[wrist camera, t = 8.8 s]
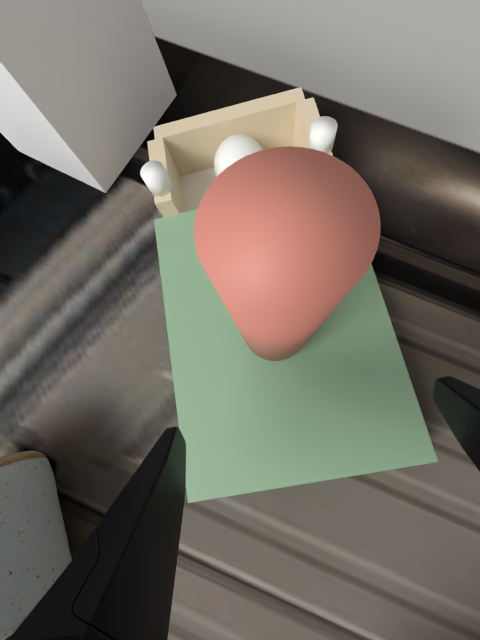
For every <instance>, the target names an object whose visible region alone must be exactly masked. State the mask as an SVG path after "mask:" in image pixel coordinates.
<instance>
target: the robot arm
mask: <svg viewBox="0 0 480 640" xmlns="http://www.w3.org/2000/svg"><path fill="white" fill-rule="evenodd" d="M433 400H434V402H435V404H436V406H437V407H438V409H439V411H440V412H441V414H442V416H443V417H444V419H445V421H446V422H447V424H448V426H449V427H450V429H451V431H452V432H453V434H454V436H455V437H456V439H457V441H458V442H459V444H460V445H461V447H462V448H463V449H464V451H465V452H466V454H467V455H468V456H469V458H470V459H471V460H472V462H473V463H474V464H475V466H476V467H477V468H478V470H479V471H480V389H477V388H475V387H473V386H471V385H469V384H466V383H464V382H462V381H460V380H458V379H455V378H453V377H450V376H447V377H441V378H437V379H436V380H435V385H434V391H433ZM185 486H186V442H185V439H184V437H183V435H182V433H181V431H180V429H179V428H178V427H171V428H167V429H166V430H165V431H164V432H163V434H162V435H161V437H160V438H159V439H158V441H157V442H156V444H155V445H154V447H153V448H152V449H151V451H150V452H149V454H148V455H147V456H146V458H145V459H144V461H143V462H142V463H141V465H140V466H139V468H138V469H137V470H136V472H135V473H134V475H133V476H132V477H131V479H130V480H129V482H128V483H127V484H126V486H125V487H124V489H123V490H122V491H121V493H120V494H119V496H118V497H117V498H116V500H115V501H114V503H113V504H112V506H111V507H110V508H109V510H108V511H107V513H106V514H105V515H104V517H103V518H102V520H101V521H100V522H99V524H98V525H97V528H95V529H94V531H93V532H92V533H91V535H90V536H89V538H88V539H87V541H86V542H85V543H84V545H83V546H82V547H81V549H80V550H79V551H78V553H77V554H76V555H75V557H74V558H73V560H72V561H71V562H70V563H69V565H68V566H67V567H66V568H65V570H64V571H63V572H62V574H61V575H60V576H59V577H58V579H57V580H56V581H55V582H54V584H53V585H52V586H51V587H50V589H49V590H48V591H47V592H46V594H45V595H44V596H43V597H42V598H41V600H40V601H39V602H38V603H37V605H36V606H35V607H34V608H33V610H32V611H31V612H30V613H29V614H28V616H27V617H26V618H25V619H24V621H23V622H22V623H21V624H20V626H19V627H18V628H17V629H16V630H15V632H14V633H13V634H12V635H11V636H10V638H9V639H8V640H167V638H168V629H169V621H170V613H171V605H172V597H173V589H174V581H175V572H176V564H177V556H178V548H179V540H180V532H181V524H182V515H183V507H184V499H185Z"/></svg>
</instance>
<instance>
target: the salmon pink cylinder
mask: <svg viewBox="0 0 480 640" xmlns="http://www.w3.org/2000/svg"><path fill="white" fill-rule="evenodd" d="M380 229H381V225H380V214H379V210H378V206H377V203H376V201H375V198H374V196H373V193H372V192H371V190H370V188H369V187H368V185H367V184H366V182H365V181H364V180H363V179H362V177H361V176H360V175H359V174H358V173H357V172H356V171H355V170H354V169H353V168H351V167H350V166H349V165H347V164H346V163H345V162H343V161H341V160H339V159H338V158H336V157H334V156H332V155H329V154H327V153H325V152H322V151H318V150H315V149H310V148H304V147H292V146H288V147H276V148H269V149H265V150H261V151H258V152H255V153H252V154H250V155H247V156H245V157H243V158H241V159H239V160H237V161H236V162H234V163H233V164H231V165H230V166H228V167H227V168H226V169H225V170H224V171H222V172H221V173H220V174H219V175H218V176H217V177H216V178H215V179H214V181H213V182H212V183H211V184H210V186H209V187H208V188H207V190H206V191H205V193H204V195H203V197H202V199H201V201H200V204H199V206H198V209H197V213H196V217H195V224H194V241H195V246H196V251H197V254H198V257H199V259H200V262H201V264H202V266H203V268H204V269H205V271H206V273H207V275H208V277H209V278H210V280H211V282H212V284H213V285H214V287H215V289H216V291H217V292H218V294H219V296H220V298H221V299H222V301H223V303H224V305H225V306H226V308H227V310H228V312H229V314H230V315H231V317H232V319H233V321H234V322H235V324H236V326H237V328H238V329H239V331H240V333H241V335H242V336H243V338H244V340H245V342H246V343H247V345H248V347H249V348H250V349H251V351H252V352H253V353H255V354H256V355H257V356H259V357H261V358H263V359H266V360H270V361H281V360H285V359H288V358H290V357H292V356H293V355H295V354H296V353H297V352H298V351H299V350H300V349H301V348H302V346H303V345H304V344H305V343H306V342H307V341H308V339H309V338H310V337H311V336H312V335H313V334H314V332H315V331H316V330H317V329H318V328H319V327H320V326H321V324H322V323H323V322H324V321H325V320H326V319H327V317H328V316H329V315H330V314H331V313H332V312H333V310H334V309H335V308H336V307H337V306H338V305H339V303H340V302H341V301H342V300H343V299H344V298H345V296H346V295H347V294H348V293H349V292H350V291H351V289H352V288H353V287H354V286H355V285H356V284H357V282H358V281H359V280H360V279H361V278H362V276H363V275H364V274H365V272H366V271H367V270H368V268H369V266H370V264H371V263H372V261H373V259H374V256H375V254H376V251H377V248H378V244H379V240H380Z"/></svg>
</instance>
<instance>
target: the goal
mask: <svg viewBox="0 0 480 640" xmlns="http://www.w3.org/2000/svg"><path fill="white" fill-rule="evenodd" d="M337 127H338V125H337V122H336V120H335V119H333V118H331V117H328V116H322V117H320V115H319V112H318V109H317V106H316V103H315V100H314V97H313V98H309V99H305V98H304V95H303V92H302V88H301V87H300V88H296V89H293V90H289V91H285V92H281V93H278V94H274V95H270V96H267V97H263V98H259V99H255V100H252V101H248V102H244V103H241V104H237V105H233V106H229V107H226V108H222V109H218V110H215V111H211V112H207V113H203V114H200V115H196V116H192V117H189V118H185V119H181V120H177V121H174V122H170V123H166V124H163V125H159V126H155V127H153V128H154V136H155V140H151V141H147V143H148V152H149V160H150V161H149V162H147V163H146V164H144V165H143V167H142V168H141V171H140V174H141V177H142V179H143V180H144V182H145V183H146V185H147V187H148V188H149V190H150V191H151V193H152V194H153V195H154V200H155V205H156V206H157V208H158V209H159V211H160V213H161V214H162V216H163V217H164V218H165V217H169V216H173V215H177V214H179V213H183V212H188V211H192V210H196V209H198V206H199V204H200V201H201V199H202V197H203V195H204V193H205V191H206V190H207V188H208V187H209V186H210V184H211V183H212V182H213V181H214V179H215V178H216V174H215V170H214V159H215V154H216V151H217V149H218V147H219V146H220V144H221V143H222V142H223V141H224V140H225V139H227V138H228V137H230V136H233V135H237V134H243V135H247V136H250V137H252V138H253V139H255V140H256V141H257V142H258V143H259V144H260V146H261V147H262V149H263V150H265V149H269V148H276V147H288V146H292V147H304V148H310V149H315V150H318V151H322V152H325V153H327V154H329V155H332V156H333V154H332V148H333V144H334V140H335V136H336V131H337Z"/></svg>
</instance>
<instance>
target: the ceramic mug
mask: <svg viewBox="0 0 480 640" xmlns="http://www.w3.org/2000/svg"><path fill="white" fill-rule="evenodd" d="M71 561H72V558H71V555H70V550H69V545H68V540H67V535H66V530H65V526H64V521H63V517H62V513H61V509H60V504H59V500H58V495H57V489H56V483H55V479H54V474H53V471H52V468H51V466H50V463H49V461H48V459H47V458H46V456H45V455H44V454H43V453H40V452H37V451H24V452H19V453H14V454H10V455H6V456H3V457H0V640H4V639H6V638H7V637H9V636H10V635H11V634H13V633H14V632H15V630H16V629H17V628H18V627H19V626H20V624H21V623H22V622H23V621H24V619H25V618H26V617H27V616H28V614H29V613H30V612H31V611H32V610H33V608H34V607H35V606H36V605H37V603H38V602H39V601H40V600H41V598H42V597H43V596H44V595H45V594H46V592H47V591H48V590H49V589H50V587H51V586H52V585H53V584H54V582H55V581H56V580H57V579H58V577H59V576H60V575H61V574H62V572H63V571H64V570H65V568H66V567H67V566H68V565H69V563H70V562H71Z"/></svg>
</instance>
